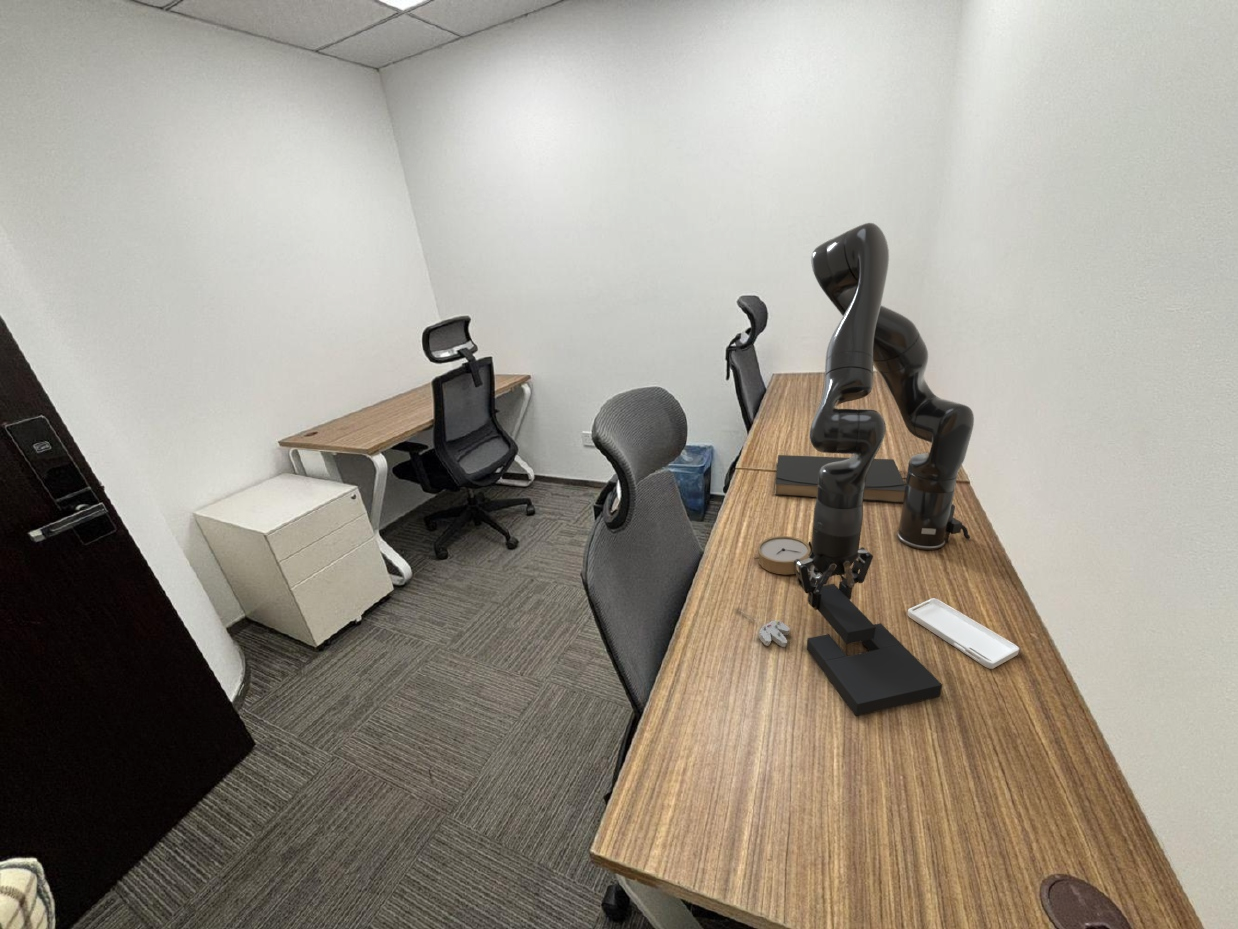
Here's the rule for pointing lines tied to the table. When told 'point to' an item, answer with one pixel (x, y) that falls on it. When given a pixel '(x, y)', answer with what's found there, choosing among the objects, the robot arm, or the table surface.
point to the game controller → (773, 633)
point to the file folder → (804, 470)
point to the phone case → (964, 633)
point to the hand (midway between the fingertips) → (828, 603)
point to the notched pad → (874, 673)
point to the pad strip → (844, 616)
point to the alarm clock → (782, 554)
